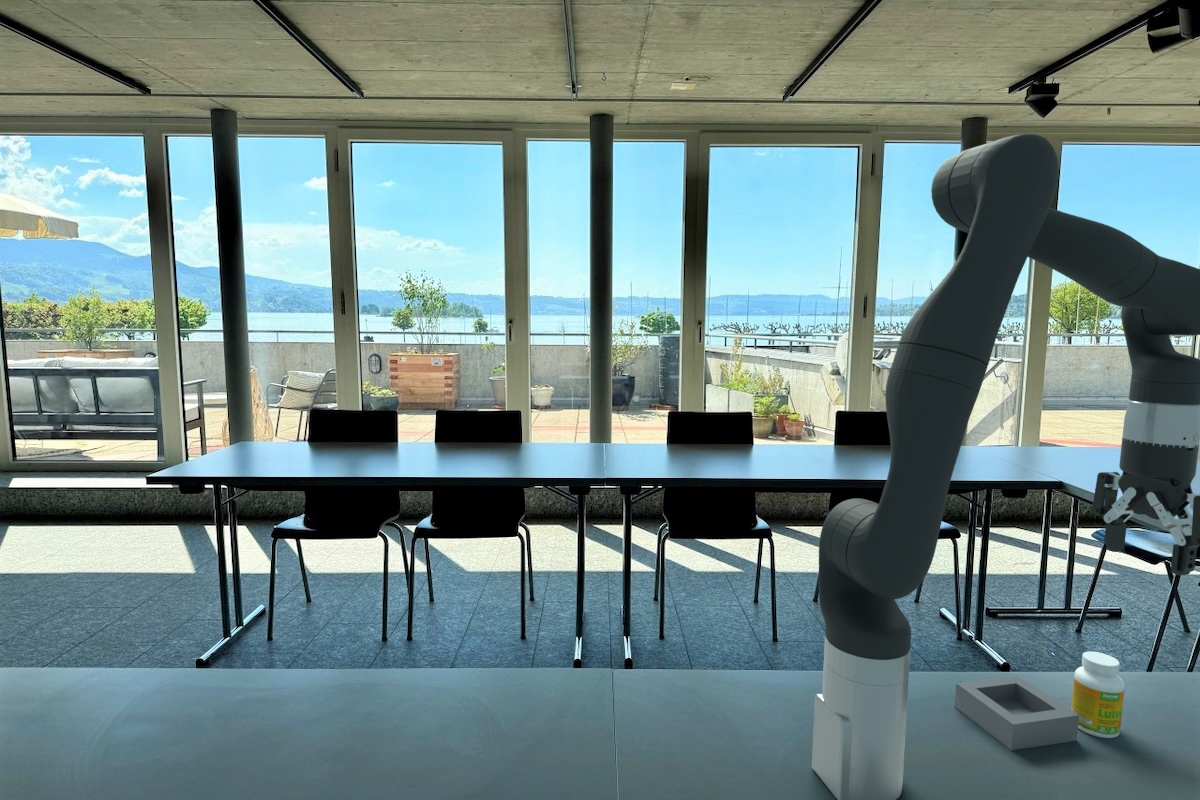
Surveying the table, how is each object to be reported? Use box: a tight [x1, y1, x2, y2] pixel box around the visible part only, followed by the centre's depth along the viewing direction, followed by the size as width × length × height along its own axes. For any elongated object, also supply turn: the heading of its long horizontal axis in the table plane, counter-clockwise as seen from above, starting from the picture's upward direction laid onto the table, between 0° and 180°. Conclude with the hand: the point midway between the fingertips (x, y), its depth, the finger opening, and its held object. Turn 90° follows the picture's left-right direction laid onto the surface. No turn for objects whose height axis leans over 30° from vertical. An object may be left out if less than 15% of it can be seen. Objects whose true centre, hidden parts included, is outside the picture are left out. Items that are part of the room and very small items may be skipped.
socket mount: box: [954, 675, 1079, 751], centre depth 92 cm, size 10×10×4 cm
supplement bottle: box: [1070, 651, 1125, 739], centre depth 90 cm, size 5×5×10 cm
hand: (1146, 561), depth 87 cm, fingers open, 8 cm apart
